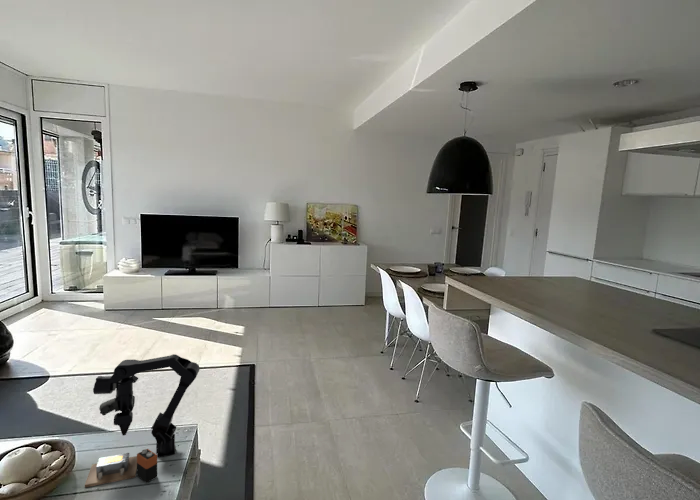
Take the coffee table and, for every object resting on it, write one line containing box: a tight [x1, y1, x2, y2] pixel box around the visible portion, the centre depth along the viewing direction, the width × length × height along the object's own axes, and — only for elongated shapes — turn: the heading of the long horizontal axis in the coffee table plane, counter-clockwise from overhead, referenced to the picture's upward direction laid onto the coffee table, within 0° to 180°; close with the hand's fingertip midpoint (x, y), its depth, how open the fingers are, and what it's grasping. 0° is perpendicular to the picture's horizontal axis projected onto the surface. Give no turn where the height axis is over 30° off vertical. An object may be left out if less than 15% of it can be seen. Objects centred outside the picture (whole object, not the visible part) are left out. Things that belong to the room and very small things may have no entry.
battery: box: [136, 448, 158, 484], centre depth 144 cm, size 4×7×10 cm, turn 57°
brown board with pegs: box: [84, 455, 137, 488], centre depth 146 cm, size 16×12×3 cm
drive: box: [96, 452, 130, 477], centre depth 146 cm, size 10×6×4 cm, turn 113°
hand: (125, 429), depth 155 cm, fingers open, 9 cm apart
